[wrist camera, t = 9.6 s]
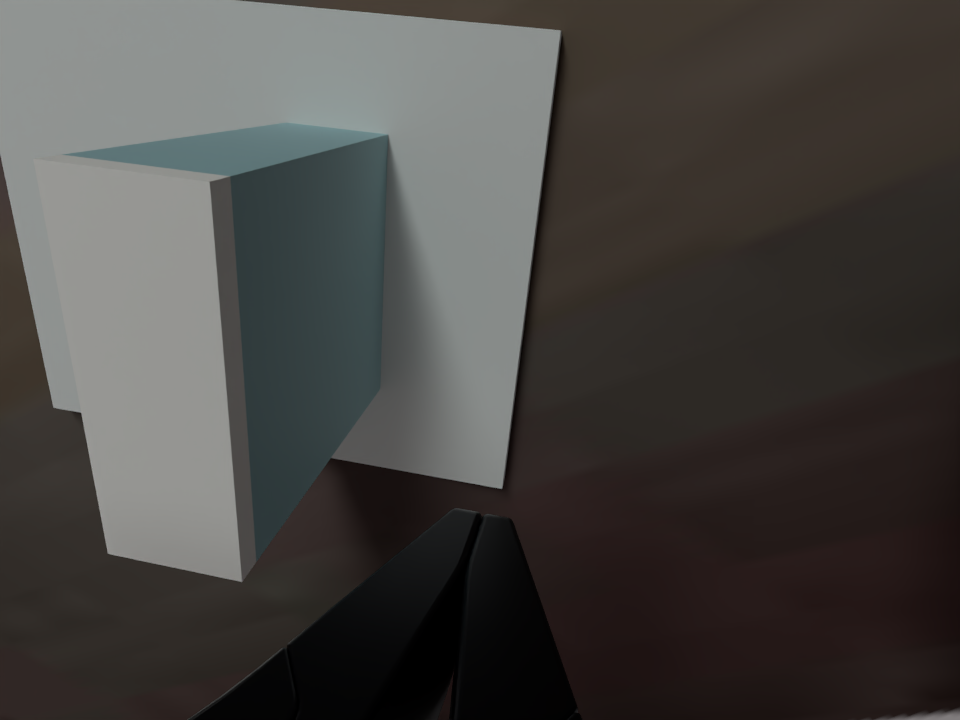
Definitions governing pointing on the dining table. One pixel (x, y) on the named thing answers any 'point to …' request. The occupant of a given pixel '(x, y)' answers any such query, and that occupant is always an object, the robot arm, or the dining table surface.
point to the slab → (218, 326)
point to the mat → (335, 104)
